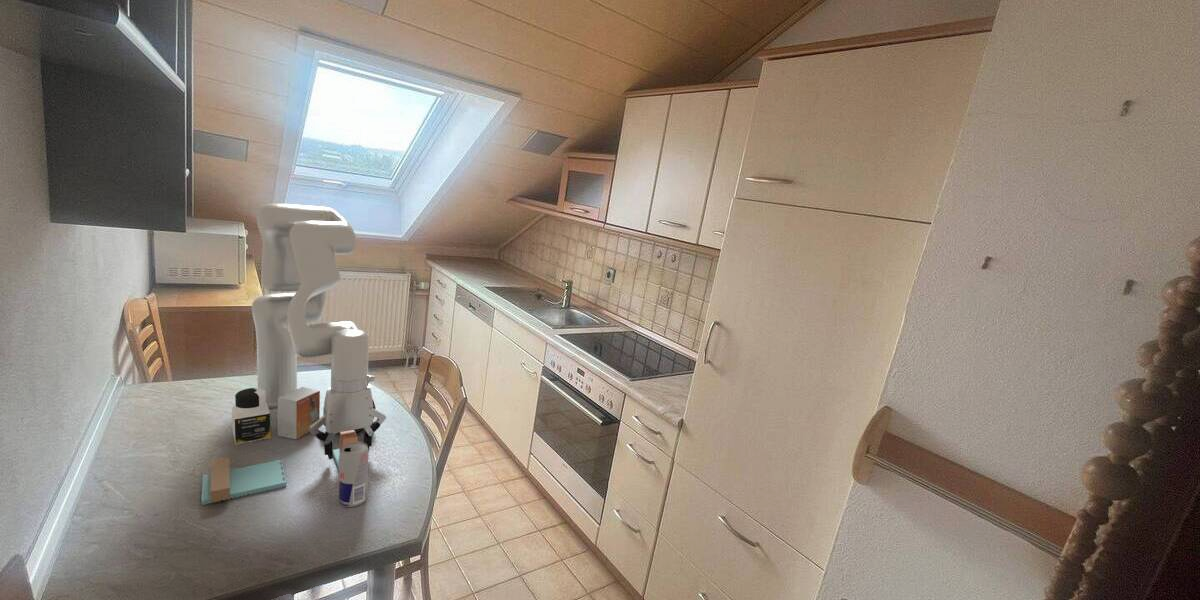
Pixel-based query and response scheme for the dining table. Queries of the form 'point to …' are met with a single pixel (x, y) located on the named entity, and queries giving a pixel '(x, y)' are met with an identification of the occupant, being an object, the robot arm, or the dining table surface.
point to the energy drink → (353, 474)
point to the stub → (344, 443)
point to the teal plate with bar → (240, 480)
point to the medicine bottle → (251, 416)
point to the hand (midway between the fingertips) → (348, 452)
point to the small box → (298, 412)
